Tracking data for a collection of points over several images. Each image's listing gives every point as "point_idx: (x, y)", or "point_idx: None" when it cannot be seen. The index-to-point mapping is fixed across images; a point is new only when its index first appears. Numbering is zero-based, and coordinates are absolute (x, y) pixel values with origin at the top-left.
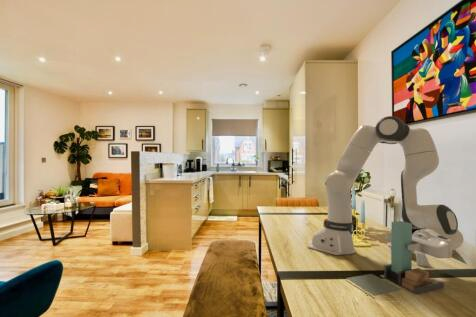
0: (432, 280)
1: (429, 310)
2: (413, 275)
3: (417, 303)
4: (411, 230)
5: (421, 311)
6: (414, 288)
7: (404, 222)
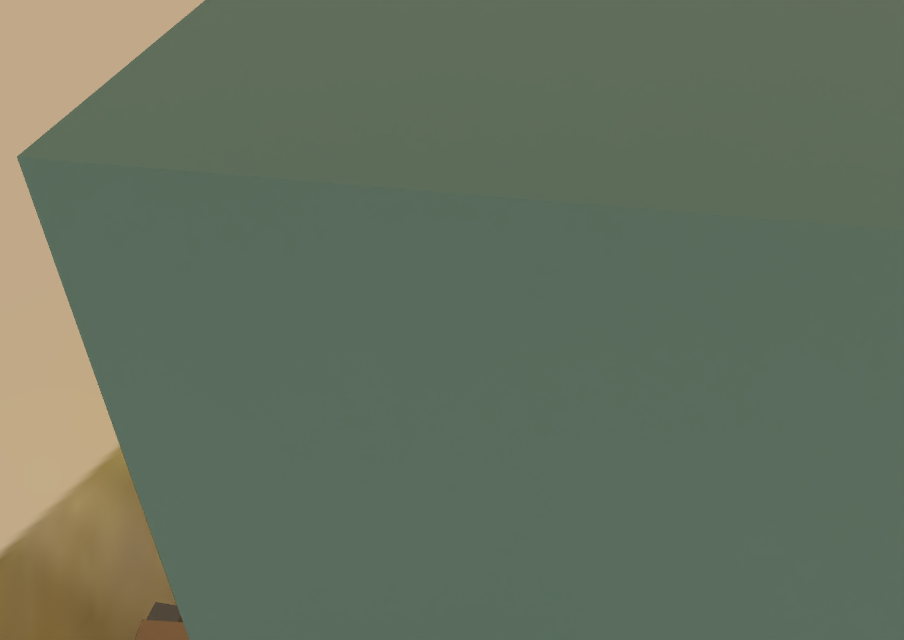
0: None
1: (39, 547)
2: (184, 626)
3: (142, 570)
4: (172, 520)
5: (92, 483)
6: (174, 612)
7: (569, 76)
